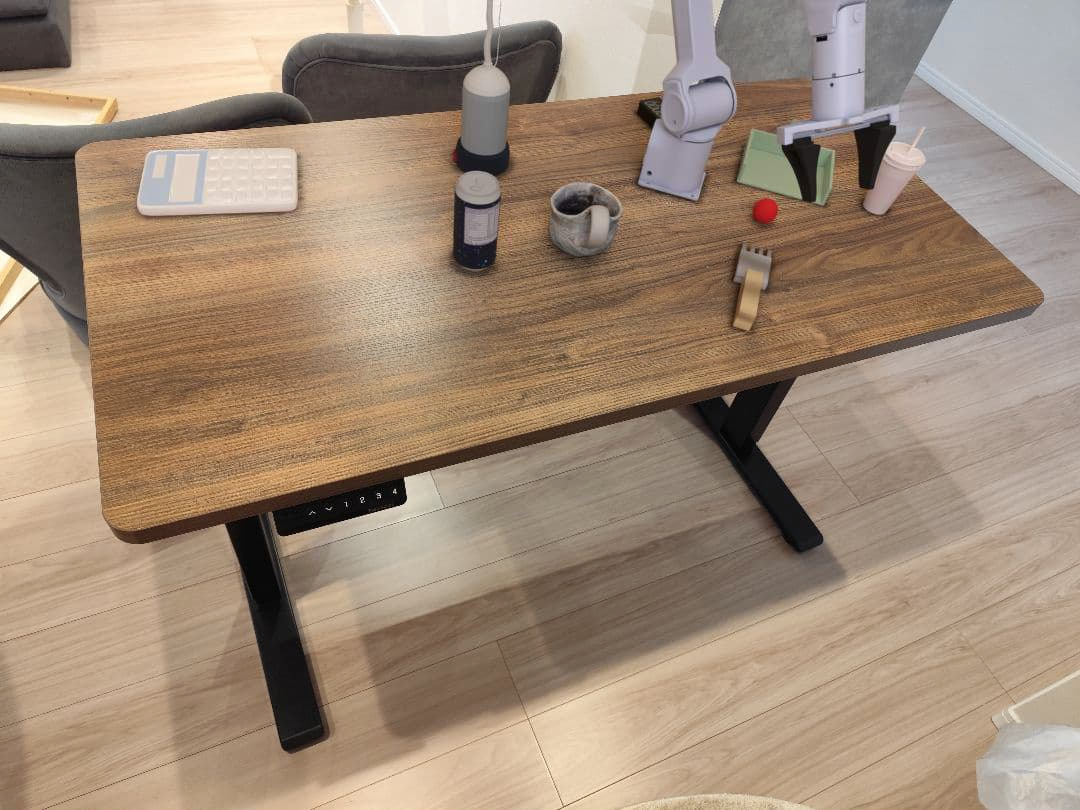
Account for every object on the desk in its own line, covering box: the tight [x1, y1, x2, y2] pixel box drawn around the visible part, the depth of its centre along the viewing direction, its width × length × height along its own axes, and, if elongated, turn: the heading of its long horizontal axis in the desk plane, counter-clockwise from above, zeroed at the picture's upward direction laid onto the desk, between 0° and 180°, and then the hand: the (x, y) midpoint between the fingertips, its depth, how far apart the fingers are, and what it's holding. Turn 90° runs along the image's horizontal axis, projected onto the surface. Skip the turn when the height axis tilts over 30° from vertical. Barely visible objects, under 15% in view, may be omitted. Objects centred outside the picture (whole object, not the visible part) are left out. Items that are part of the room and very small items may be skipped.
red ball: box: [752, 197, 779, 224], centre depth 109 cm, size 4×4×4 cm
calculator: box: [136, 147, 299, 217], centre depth 100 cm, size 13×20×2 cm, turn 102°
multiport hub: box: [636, 96, 663, 130], centre depth 123 cm, size 4×11×2 cm, turn 28°
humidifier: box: [452, 0, 511, 177], centre depth 102 cm, size 8×8×25 cm
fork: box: [732, 242, 773, 332], centre depth 99 cm, size 17×4×3 cm, turn 163°
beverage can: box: [452, 171, 502, 272], centre depth 93 cm, size 6×6×12 cm
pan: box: [736, 118, 836, 206], centre depth 121 cm, size 20×14×3 cm
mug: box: [547, 181, 624, 257], centre depth 97 cm, size 10×12×10 cm
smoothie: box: [862, 125, 927, 216], centre depth 111 cm, size 6×6×14 cm
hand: (837, 194), depth 90 cm, fingers open, 7 cm apart
